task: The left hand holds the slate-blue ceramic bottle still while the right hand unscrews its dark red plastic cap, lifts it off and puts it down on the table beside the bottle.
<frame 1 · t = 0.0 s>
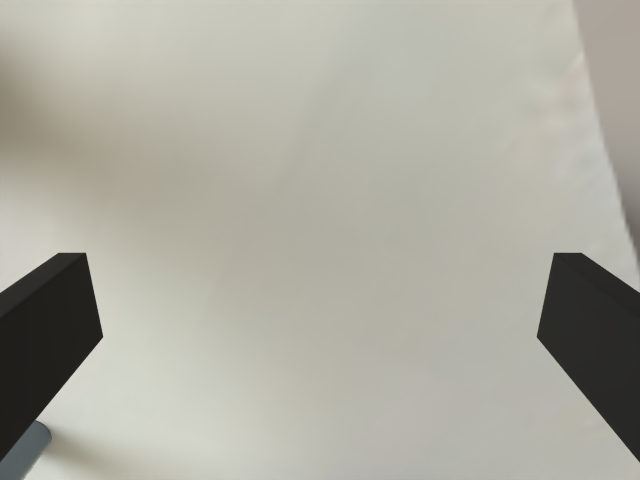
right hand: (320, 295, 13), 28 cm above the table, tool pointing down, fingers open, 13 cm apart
bottle: (30, 434, 50), on the table
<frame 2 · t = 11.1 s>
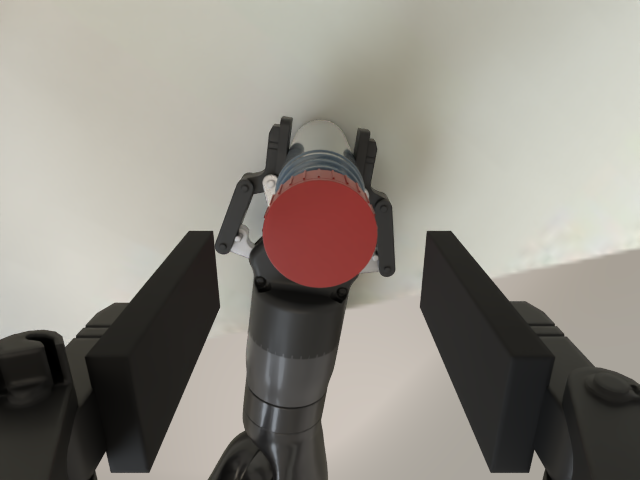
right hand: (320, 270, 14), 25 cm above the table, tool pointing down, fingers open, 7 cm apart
left hand: (325, 125, 30), fingers closed on bottle, 4 cm apart
cap: (320, 233, 17), point 21 cm above the table, screwed on, not yet turned
bottle: (319, 147, 37), on the table, touching left hand
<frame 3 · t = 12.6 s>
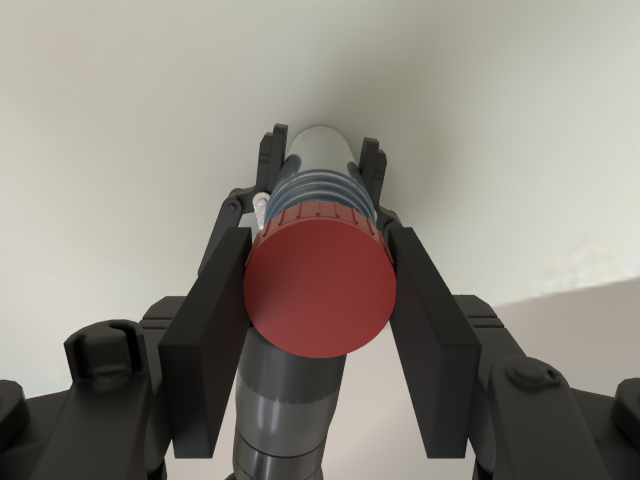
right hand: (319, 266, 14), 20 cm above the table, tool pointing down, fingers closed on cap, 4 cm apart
cap: (319, 288, 13), point 21 cm above the table, screwed on, not yet turned, touching right hand
bottle: (319, 158, 33), on the table, touching left hand
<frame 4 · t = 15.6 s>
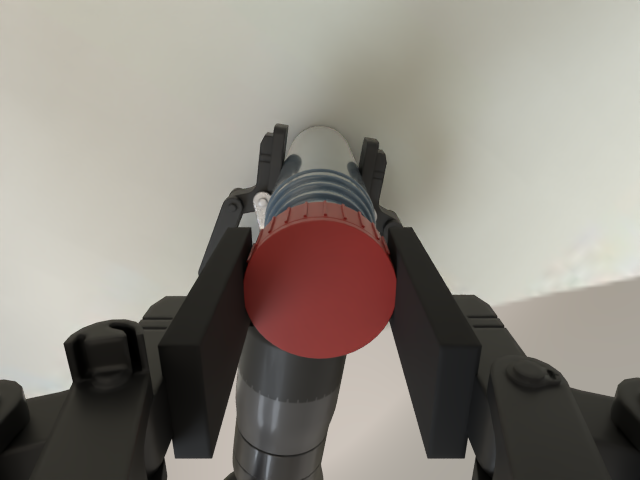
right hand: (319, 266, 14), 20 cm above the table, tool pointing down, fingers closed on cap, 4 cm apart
cap: (320, 289, 13), point 21 cm above the table, turned 96° so far, risen 0.1 cm, still on its thread, touching right hand
bottle: (319, 157, 33), on the table, touching left hand
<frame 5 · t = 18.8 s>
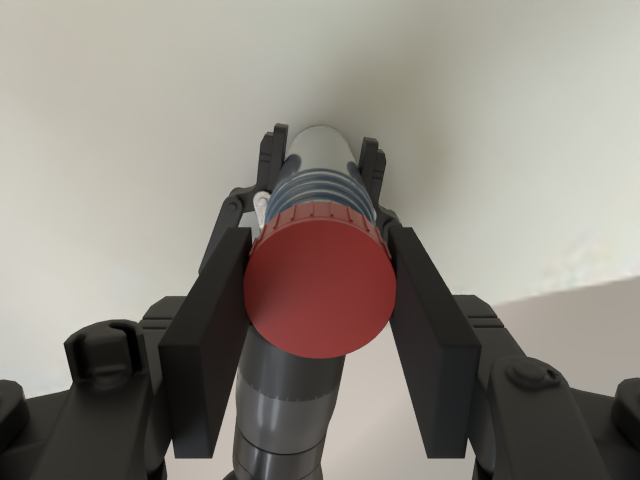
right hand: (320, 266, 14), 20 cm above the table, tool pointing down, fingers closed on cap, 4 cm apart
cap: (319, 289, 13), point 22 cm above the table, turned 192° so far, risen 0.2 cm, still on its thread, touching right hand
bottle: (319, 157, 33), on the table, touching left hand
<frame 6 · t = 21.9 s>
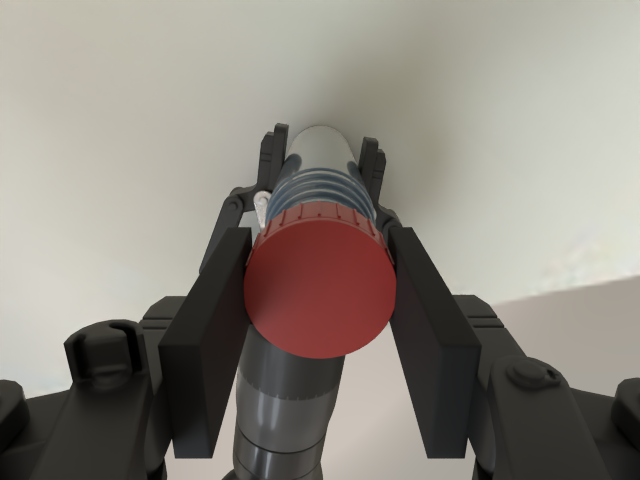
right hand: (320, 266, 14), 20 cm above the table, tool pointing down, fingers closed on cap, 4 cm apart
cap: (320, 289, 13), point 22 cm above the table, turned 287° so far, risen 0.4 cm, still on its thread, touching right hand
bottle: (319, 157, 33), on the table, touching left hand
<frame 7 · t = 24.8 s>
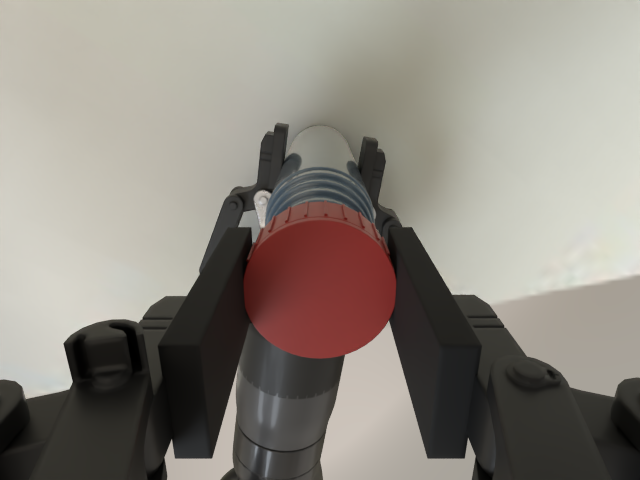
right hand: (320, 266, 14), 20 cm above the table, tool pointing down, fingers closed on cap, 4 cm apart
cap: (319, 289, 13), point 22 cm above the table, turned 383° so far, risen 0.5 cm, still on its thread, touching right hand
bottle: (319, 157, 33), on the table, touching left hand
when the right hand's fingers open (1 cm above the table, at t = 31.2 s): cap drops 1 cm, point 2 cm above the table.
when the left hand's fingers open (7 cm above the table, at t = 32.4 s): bottle stays where it is, on the table.
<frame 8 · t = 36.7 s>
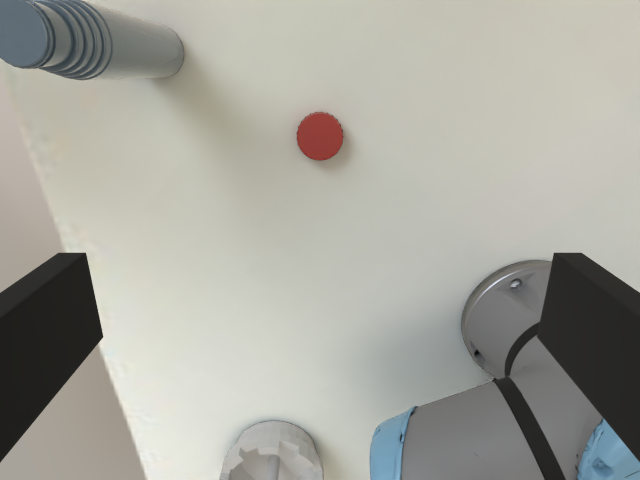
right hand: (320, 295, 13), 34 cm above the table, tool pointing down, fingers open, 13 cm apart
cap: (319, 137, 43), point 2 cm above the table, off its thread
flag stand: (275, 451, 60), on the table
bottle: (159, 51, 42), on the table
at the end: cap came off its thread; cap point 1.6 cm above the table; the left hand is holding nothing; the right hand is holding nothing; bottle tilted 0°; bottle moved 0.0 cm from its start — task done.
